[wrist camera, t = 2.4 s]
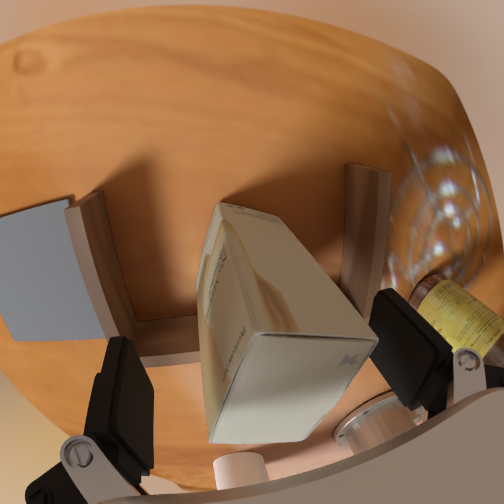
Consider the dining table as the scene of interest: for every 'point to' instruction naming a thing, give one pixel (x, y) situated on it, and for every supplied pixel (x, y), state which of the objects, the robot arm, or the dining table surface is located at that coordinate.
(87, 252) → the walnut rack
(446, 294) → the sauce bottle
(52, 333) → the grey rubber mat
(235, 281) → the skincare box
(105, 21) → the dining table surface
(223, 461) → the cylindrical container
